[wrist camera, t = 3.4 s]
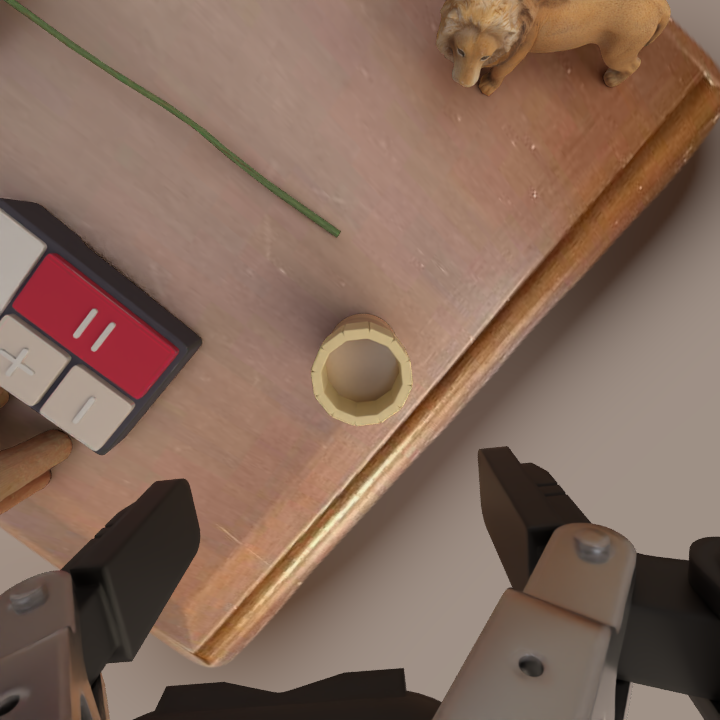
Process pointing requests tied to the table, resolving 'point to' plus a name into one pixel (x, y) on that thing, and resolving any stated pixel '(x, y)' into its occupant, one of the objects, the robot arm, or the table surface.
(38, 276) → the calculator
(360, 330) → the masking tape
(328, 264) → the table surface
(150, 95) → the flower
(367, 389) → the tan wooden cylinder
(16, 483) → the figurine
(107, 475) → the table surface
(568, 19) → the lion figurine
